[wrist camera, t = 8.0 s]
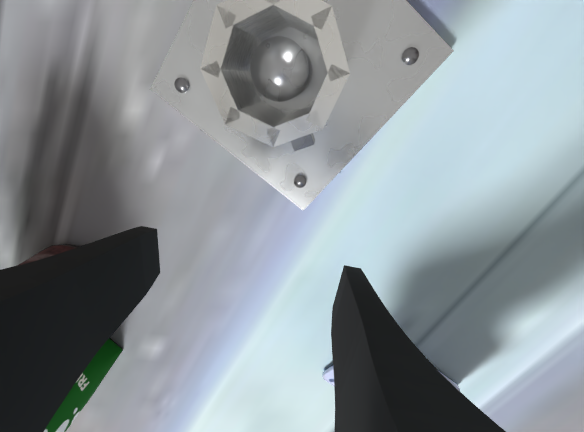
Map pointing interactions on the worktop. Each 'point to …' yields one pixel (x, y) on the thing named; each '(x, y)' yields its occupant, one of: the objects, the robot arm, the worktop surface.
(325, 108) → the sleeve
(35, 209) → the worktop surface
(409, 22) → the duct plate
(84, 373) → the milk carton
